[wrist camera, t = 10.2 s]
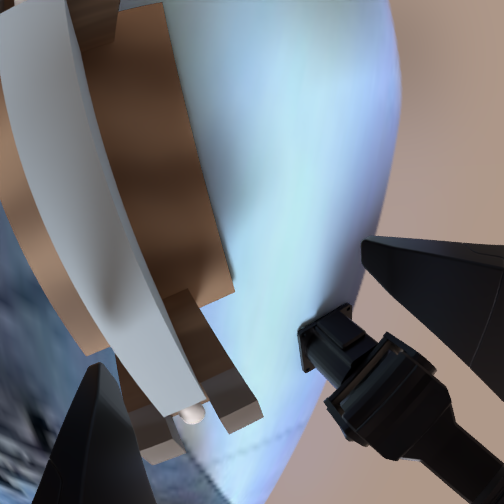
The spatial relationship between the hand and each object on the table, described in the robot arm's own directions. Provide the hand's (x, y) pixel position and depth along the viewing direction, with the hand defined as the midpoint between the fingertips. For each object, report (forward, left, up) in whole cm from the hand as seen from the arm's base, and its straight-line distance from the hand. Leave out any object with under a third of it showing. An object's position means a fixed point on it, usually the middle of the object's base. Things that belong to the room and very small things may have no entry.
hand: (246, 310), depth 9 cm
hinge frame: (+3, +3, -12) cm, 12 cm away
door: (+3, +3, -9) cm, 10 cm away
